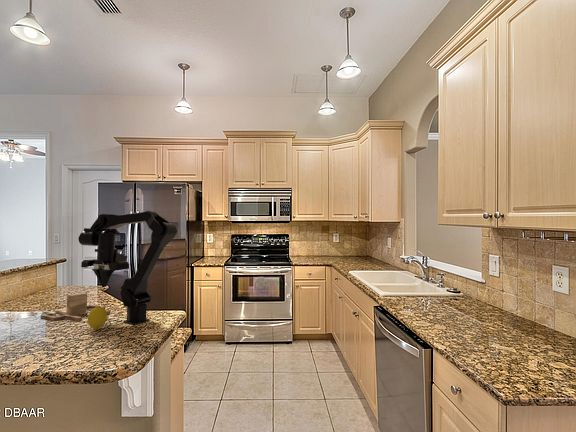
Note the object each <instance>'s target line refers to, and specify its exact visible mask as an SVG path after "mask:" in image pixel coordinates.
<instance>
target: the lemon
mask: <svg viewBox="0 0 576 432" xmlns="http://www.w3.org/2000/svg"><path fill="white" fill-rule="evenodd" d="M96 306H97V307H95V308H93V309H92V310H91V311H90V310H89V312H88V315H87V324H88V326H89V327H90V328H92V329H94V330H95V331H98V330H99V329H100V328H102V327H103V326H104V325H105V324H106V322H107V319H108V314H107V312H106V310H107V309H106V308H105V309H104V308H103V307H104V306H103V307H100V306H101V305H96Z"/></svg>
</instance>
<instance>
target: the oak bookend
mask: <svg viewBox="0 0 576 432" xmlns="http://www.w3.org/2000/svg"><path fill="white" fill-rule="evenodd" d="M87 303H88V292H79V293H71V294H67V296H66V307H64V308H59V309H54V310H53V312H56V315H60V316H63V315H72V316H80V315H85V314H87V310H86V309H87V306H88V305H87Z"/></svg>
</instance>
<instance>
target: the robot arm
mask: <svg viewBox="0 0 576 432" xmlns="http://www.w3.org/2000/svg"><path fill="white" fill-rule="evenodd" d="M141 223H146V225H147V227H148V228H149V229H150V230H151V231H152V232H151V235H150V240H151V241H150V244H149V246H148V248H147V250H146V252H145V254H144V256H143V258H142V259H141V262H140V264H139V266H138V267H137V270H136V271H135V273H134V275H133V276H132V277H129V278H125V279H124V282H123V284H122V286H121V287H120V288H119V289H120V293H119V295H120V297H121V300H122V304H123V307H124V308H125V307H126V319H124V320H123V322H122V323H127V324H131V325H132V324H133V325H137V323H138V324H140V323H145V322H147V321H150V318H147V310H148V309H147V306H148V304H149V303H151V300H152V296H151V295H150V293H149V292H148V291H147V290H148V279H149V277H150V275H151V273H152V271H153V270H154V268H155V266H156V264H157V262H158V260H159V259H160V256H161V254H162V253H163V250H164V249H165V247H167V246H168V245H169V244H170V243H171V242H172V241H173V239H174V238H175V237H176V236H177V233H178V229H177V226H176V225H175V224H174V223H171V222H170V221H168V220H167V219H165V218H164V217H162V216H160V214H158V213H157V212H156V211H152V210H145V211H140V212H132V213H131V212H130V213H123V214H113V213H112V214H111V213H100V214H98V216H97V217H96V219H95V221H94V222H93V223H92V225H91V226H90V227H89V228H87V227H85V228H83V231H81V232H80V234H79V236H78V239H77V240H78V242H79V244H80V245H81V246H91V247H97V248H95V249H94V253H96V255H97V256H96V258H91V259H83V260H82V261H81V266H80V268H89V267H93V268H91V271H92V272H93V273H94V274H95V276H96V278H97V280H98V282H99V284H100V286H101V288H106V287H107V286H108V283H109V281H110V278H111V277H112V275H113V273H115V272H116V271H123V270H130V263H129V261H127V260H128V256H127V255H125V254H123V253H119V250H118V248H116V247H115V246H116V236H121V232H120V231H119V230H118V229H119V228H121V227H124V226H125V225H133V224H141Z"/></svg>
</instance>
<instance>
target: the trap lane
mask: <svg viewBox="0 0 576 432" xmlns="http://www.w3.org/2000/svg"><path fill="white" fill-rule="evenodd" d="M97 306H98V305H94V304H91V305H87V309H86V311H89V312H90V311H91V310H92V309H93V308H95V307H97ZM99 306H100V307H103V308H104V309H105V310H106V312H107V315H110V314H111V310H107V309H106V306H101V305H99ZM41 318H43V319H42V320H45V321H46V320H47V321H51V322H52V321H53V322H56V321H61V320H62V321H63V320H70V321H74V322H81V321H83V317H82V316H79V315H75V316H72V315H59V316H57V314H56V312H54V311H50V310H42V312H41V315H40V319H41Z"/></svg>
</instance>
